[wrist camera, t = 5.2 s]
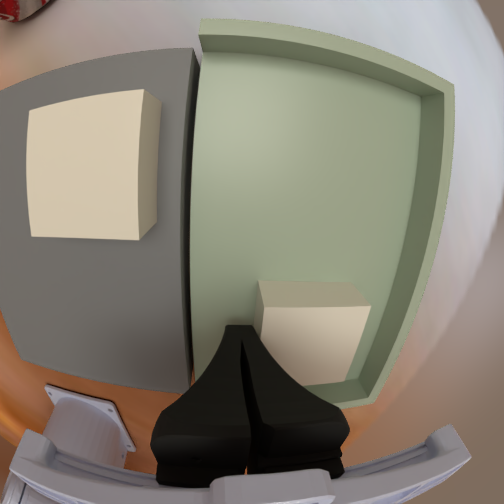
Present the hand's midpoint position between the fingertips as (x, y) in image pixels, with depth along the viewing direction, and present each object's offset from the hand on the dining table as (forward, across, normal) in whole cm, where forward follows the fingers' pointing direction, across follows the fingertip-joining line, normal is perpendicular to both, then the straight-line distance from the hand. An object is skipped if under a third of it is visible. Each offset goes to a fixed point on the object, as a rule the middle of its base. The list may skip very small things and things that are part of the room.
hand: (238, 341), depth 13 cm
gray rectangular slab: (+4, +10, -4) cm, 11 cm away
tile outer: (+1, +6, -8) cm, 10 cm away
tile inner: (+2, -3, 0) cm, 4 cm away
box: (+4, -4, -4) cm, 6 cm away
